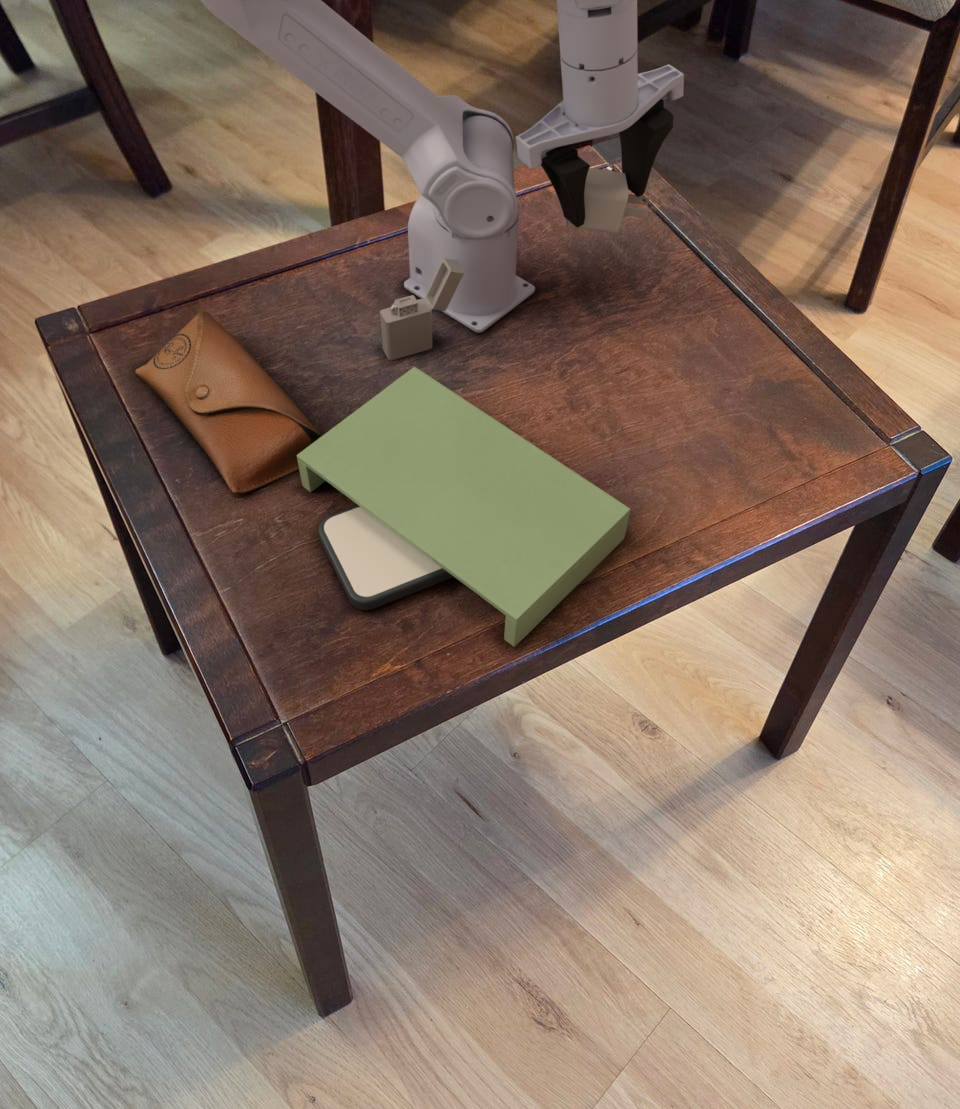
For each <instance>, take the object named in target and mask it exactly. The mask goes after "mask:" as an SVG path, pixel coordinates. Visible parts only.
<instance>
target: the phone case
mask: <svg viewBox="0 0 960 1109" xmlns="http://www.w3.org/2000/svg"><path fill="white" fill-rule="evenodd" d="M317 533H318V539H319V541H320V544H321V545H322V548H323V550H324V551H325V554H326V556H327V558H328V560H329V562H330V564H331V566H332V569H333V571H334V572H335V574H336V576H337V578H338V580H339V583H340V584H341V586H342V588H343V590H344V592H345V594H346V597H347V598H348V600H349V603H350V604H351V605H352V606H353V607H354V608H355V609H357V610H359V611H373V610H375V609H377V608H380V607H383V606H384V605H388V604H389V603H392V602H394V601H397V600H399V599H403V598H405V597H407V596H411V595H412V594H414V593H417V592H419V591H422V590H424V589H427V588H430V587H432V586H435V585H437V584H440V583H442V582H445V581H447V580H450V579H452V578H455V577H454V576H452V575H451V574H450V573H448V572H447V571H446V570H444V569H443V568H442V567H440V566H439V565H438V564H436V563H435V562H434V561H432V560H431V559H430V558H428V557H427V556H426V555H424V554H423V553H422V552H420V551H419V550H418V549H416V548H415V547H414V546H412V545H411V544H410V543H408V542H407V541H406V540H404V539H403V538H402V537H400V536H399V535H398V534H396V533H395V532H394V531H392V530H391V529H390V528H388V527H387V526H386V525H384V524H383V523H382V522H380V521H379V520H378V519H376V518H375V517H374V516H372V515H371V514H370V513H368V512H367V511H366V510H364V509H363V508H362V507H360V506H359V505H358V504H356V505H355V506H352V507H349V508H347V509H344V510H341V511H338V512H335V513H333V514H331V515H329V516H326V517H324V518H323V519H322V520H321V521H320V522H319V523H318V526H317Z"/></svg>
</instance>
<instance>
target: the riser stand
mask: <svg viewBox="0 0 960 1109" xmlns="http://www.w3.org/2000/svg"><path fill="white" fill-rule="evenodd" d="M321 436H322V437H320V438H319V439H318V440H316V441H315V442H314V443H312V444H311V445H310V446H308V447H307V448H306V449H304V450H303V451H302V452H300V453H299V454H298V455H297V459H298V465H299V470H298V471H299V475H300V481H301V486H302V487H303V488H304V489H305V490H307V491H308V492H309V493H312V492H314V491H315V490H316V489H318V488H319V487H320V486H321V485H323V484H324V483H325V482H327V483H328V484H330V485H331V486H332V487H333V488H334V489H336V490H337V491H339V493H341V494H343V495H344V496H346V497H347V498H348V499H350V500H351V501H352V502H353V503H354V504H356V505H359V506H360V507H362V508H363V509H364V510H366V511H367V512H368V513H370V514H371V515H372V516H374V517H375V518H376V519H378V520H379V521H380V522H382V523H383V524H384V525H386V526H387V527H388V528H390V529H391V530H392V531H394V532H395V533H396V534H398V535H399V536H400V537H402V538H403V539H404V540H406V541H407V542H408V543H410V544H411V545H412V546H414V547H415V548H416V549H418V550H419V551H420V552H422V553H423V554H424V555H426V556H427V557H428V558H430V559H431V560H432V561H434V562H435V563H436V564H438V565H439V566H440V567H442V568H443V569H444V570H446V571H447V572H448V573H450V574H451V575H452V576H454V577H453V578H455V579H456V580H458V581H459V582H460V583H462V584H463V585H464V586H466V588H468V589H470V590H471V591H473V592H474V593H475V594H477V596H480V598H481V599H483V600H484V601H486V602H487V603H488V604H490V605H492V607H493V608H495V609H497V611H499V612H500V613H502V614H503V615H504V616H505V620H504V633H503V634H504V635H503V636H504V637H503V640H504V641H505V642H506V643H508V644H510V645H511V646H512V647H514V648H515V647H517V645H518V644H520V642H521V641H523V640H524V638H526V637H527V635H529V633H531V632H532V631H533V630H534V629H535V628H536V627H537V626H538V625H539V624H540V623H541V622H542V621H543V620H544V619H545V618H546V617H547V616H548V615H549V614H550V613H551V612H552V611H553V609H555V608H556V607H557V606H558V605H559V604H560V603H561V602H562V601H564V599H565V598H566V597H567V596H568V595H569V594H570V593H571V592H572V591H573V590H574V589H575V588H576V587H577V586H578V585H579V584H581V582H582V581H583V580H585V579H586V577H588V575H589V574H591V573H592V571H593V570H594V569H595V568H597V567H598V565H600V563H601V562H603V561H604V560H605V559H606V558H607V557H608V556H609V554H611V553H612V552H613V551H614V550H615V549H616V548H617V547H618V546H619V545H620V544H621V543H622V542H623V541H624V540H625V538H626V532H627V528H628V524H629V518H630V513H631V508H630V507H629V506H627V505H626V504H624V503H623V502H621V501H619V500H618V499H616V497H613V496H612V495H611V494H609V493H608V492H606V491H604V490H602V488H600V487H598V486H597V485H595V484H594V483H593V482H591V481H589V480H588V479H586V478H584V477H583V476H581V474H578V473H577V472H576V471H574V470H572V469H571V468H569V467H568V466H567V465H565V464H563V463H562V462H561V461H559V460H557V459H556V458H554V457H553V456H551V455H550V454H548V453H547V452H546V451H544V450H542V449H540V448H539V447H538V446H537V445H534V444H533V443H532V442H530V441H528V440H527V439H525V438H524V437H522V436H521V435H519V434H518V433H516V432H515V431H514V430H512V429H510V428H509V427H507V426H506V425H505V424H502V422H500V421H498V420H497V419H496V418H494V417H492V416H490V415H489V414H487V413H486V412H484V411H483V410H482V409H480V408H478V407H477V406H475V405H474V404H472V403H470V402H469V401H468V400H466V399H465V398H463V397H461V396H460V395H458V394H457V393H456V392H454V391H452V390H451V389H449V388H448V387H446V386H445V385H443V384H442V383H441V382H439V381H437V380H436V379H434V378H432V376H430V375H428V374H427V373H426V372H424V371H422V370H420V369H419V368H418V367H416V366H413V367H412V368H411V369H409V370H408V371H407V372H405V373H404V374H402V375H401V376H400V377H398V378H397V379H396V380H394V381H393V382H392V383H390V384H389V385H388V386H387V387H385V388H384V389H382V390H381V391H380V392H379V393H377V394H376V395H375V396H373V397H372V398H371V399H369V400H368V401H367V402H365V403H364V404H363V405H361V406H360V407H359V408H357V409H356V410H355V411H353V412H352V413H351V414H349V415H348V416H347V417H346V418H344V419H343V420H341V421H340V422H339V423H338V424H336V425H335V426H333V427H332V428H331V429H329V430H328V431H327V432H325V433H324V434H322V435H321Z"/></svg>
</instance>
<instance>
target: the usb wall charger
mask: <svg viewBox="0 0 960 1109" xmlns="http://www.w3.org/2000/svg"><path fill="white" fill-rule="evenodd" d="M650 199H651V198H650V197H649V196H643V195H641V196H639V197H638V196H636V195H635V194H634V193H629V189H628V186H627V181H626V175H625V173H622V171H621V172H620V171H613V170H607V169H599V168H592V167H589V170H588V173H587V178H586V183H585V191H584V202H585V221H584V225H582V226H580V227H575V226H574V225H573V224H572V223H571V222H570V220H569V221H568V220H567V219H566V218H565V226H566V228H571V229H579V230H585V231H586V230H587V231H592V232H593V231H594V232H600V233H608V234H614V235H617V234H618V233H619V231H620V228H621V224H622V221H623V218H624V216H628V217H634V218H644V219H651V218H652V214H653V210H652V209H646V208H642V207H635V206H634V207H633V206H628V204H631V205H632V204H634V205H644V206H648V205H649V203H650ZM643 200H646V201H645V202H643ZM646 212H647V213H649V214H647V215H645V214H646Z"/></svg>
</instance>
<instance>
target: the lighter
mask: <svg viewBox="0 0 960 1109" xmlns="http://www.w3.org/2000/svg"><path fill="white" fill-rule="evenodd" d="M463 274H464V270H463V268H462V267H461V265H460V264H459V262H458V261H457V260H451V259H445V258H444V259H442V261H441V263H440V266H439V268H438V270H437V272H436V274H435V276H434V278H433V281H432V283H431V285H430V287H429V289H428V291H427V293H426V296H425V299H423V298H422V299H421V298H419V299H417V298H416V296H415V294H411V295H408V296H404V297H401V298H397V299H394V300H393V301H394V303H393V304H392V305H391V306H390V307H386V308H384V309H380V311H379V318H380V329H381V330H380V332H381V341H382V342H381V344H382V346H381V347H382V351H383V352H384V355H385V356H386V358H387V360H388V361H394V360H398V359H402V358H404V357H408V356H413V355H415V354H419V353H423V352H425V351H429V350H432V349H433V314H432V312H433V311H432V310H435V311H440V312H442V311H446V309H447V307H448V305H449V303H450V301H451V299H452V297H453V295H454V293H455V291H456V289H457V287H458V285H459V283H460V281H461V279H462V276H463Z"/></svg>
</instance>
